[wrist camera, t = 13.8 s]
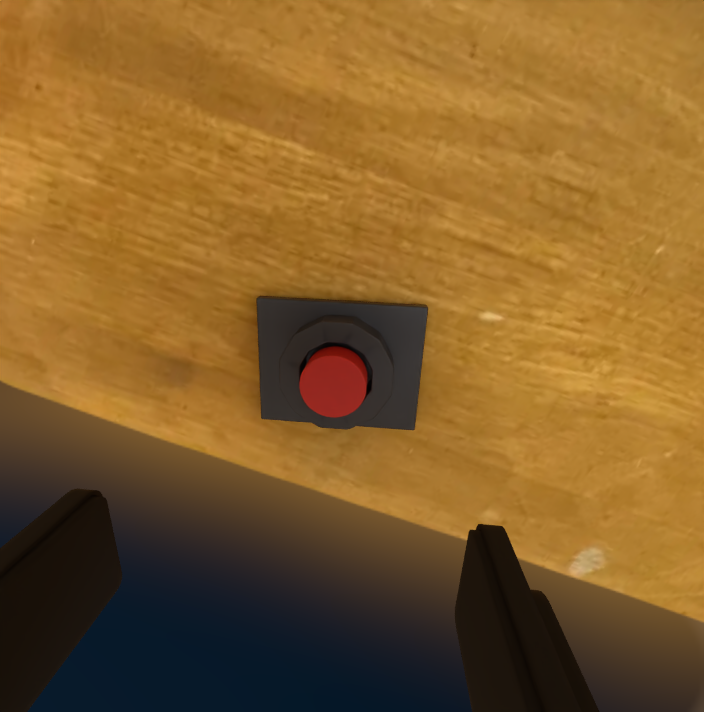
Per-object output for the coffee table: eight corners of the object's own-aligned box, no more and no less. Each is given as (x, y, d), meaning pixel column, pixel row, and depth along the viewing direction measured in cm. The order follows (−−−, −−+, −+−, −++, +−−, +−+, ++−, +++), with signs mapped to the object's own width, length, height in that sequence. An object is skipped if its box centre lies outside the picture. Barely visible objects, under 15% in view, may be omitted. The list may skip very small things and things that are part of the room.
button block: (264, 414, 25) (251, 433, 22) (259, 295, 22) (245, 302, 20) (413, 425, 24) (417, 446, 22) (426, 304, 22) (432, 313, 19)
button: (305, 401, 22) (299, 415, 20) (305, 343, 21) (298, 353, 19) (365, 406, 22) (364, 420, 20) (369, 347, 20) (368, 357, 19)
